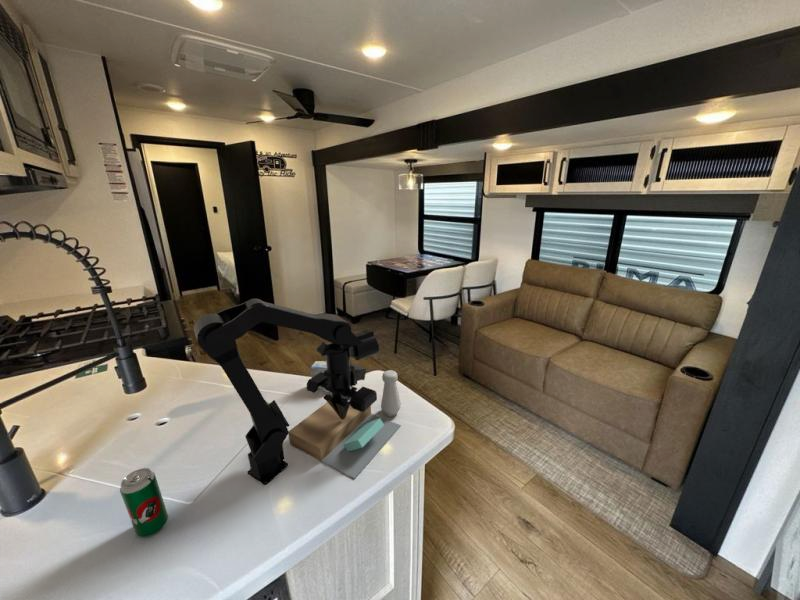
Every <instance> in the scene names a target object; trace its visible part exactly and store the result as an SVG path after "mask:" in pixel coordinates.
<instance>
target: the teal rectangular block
mask: <svg viewBox="0 0 800 600" xmlns="http://www.w3.org/2000/svg"><path fill="white" fill-rule="evenodd" d="M383 426H384V424H383V422H382V421H381V419H377V420H374V421H371V422H368V423H366V424H365V425H363V426H362V427H361V428H360V429H359V430H358V431H357V432H356V433H355V434H354V435H353V436H352V437H351V438H350V439H349V440H348V441H347V442H346V443H344V444H343V445H344V446H345V448H346V450H347V451H352V450H355V449H359V448H362V447H363V446H364V445H365V444H366V443H367V442H368V441H369V440H370V439H371V438H372V437H373V436H374V435H375V434H376V433H377V432H378V431H379V430H380V429H381V428H382V427H383Z"/></svg>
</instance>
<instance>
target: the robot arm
mask: <svg viewBox="0 0 800 600" xmlns="http://www.w3.org/2000/svg"><path fill="white" fill-rule="evenodd" d="M260 323H263V324H264V323H265V324H267V325H268V324H269V325H273V326H278V327H281V328H288V329H291V330H296V331H301V332H305V333H310V334H313V335H315V336H317V337H319V338H321V339H322V340H325V341H327V342H328V343H326V342H325V341H321V344H320V345H319V346H317V347H316V349H315V351H316V352H317V353H318V354H319V355H320V356H321V357H324V356H325V361H326V364H327V370H326V371H324V373H322V372H320V373H318V374H317V375H315V376H314V377H312V376H311V377H310V378H309V379H307V383H306V390H307V391H308V392H309V393H313V394H316V393H317V392H318V391H319V390H318V387H319V386H321V387H324V388H325V389H324V390H323V392H325V393H324V396H323V400H324V401H326V403H327V402H328V403H329V404H330V406H331V407H332V408H333V409H334V411H335V412H336V413H337V415H338V416H339V417H340V419H345V417H346V415H347V412H348V409H349V406H350V405H351V407H352V408H353V409H356V410H358V411H361V412H363V411H365V410H366V409H368V408H369V407H370V406H372V405H373V404H374V403H376V402H377V400H378V397H377V396H378V395H377V391H376V390H374V389H371V388H368V387H365V386H361V387H360V388H359V389H358V388H357V387H355V386H357V385H358V382H359V381H365V378H366V372H367V368H366V367H365V366H362V365H359V364H355V363H352V362H351V358H352V359H354V360H356V361H360V360H363V359H365V358H368V357H372V356H374V355H377V354H379V351H380V345H379V343H378V340H377V337H376V336H375V334H374V333H375V332H374V331H373V330H372V329H369V328H368V329H365V330H363V331H361V332H357V333H353V332H352V327H351V323H349V322H348V321H346V320H344V318H342V317H340V316H338V315H336V314H333V313H309V312H305V311H302V310H298V309H293V308H289V307H287V306H282V305H278V304H275V303H270V302H267V301H264V300H261V299H259V298H250V299H249V300H247V301H244V302H243V303H240V304H237V305H233V306H230V307H227V308H224V309H222V310H220V311H219V312H216V313H206V314H204V315H202V316H200V317H199V318H198V319H197V320H196V321H195V323H194V325H193V331H194V336H195V338H196V340H197V344H198V346H199V348H200V349H201V350H202V351H203V352H204V353H205V354H206V355H207V356H208V357H209V358H210V359H211V360H212V361H213V362H215V363H216V364H217V365H218V366H219V367H221V368H222V370H223V372H224V373H225V375H226V377H227V378H228V380H229V382H230V383H231V385H232V386H233V388H234V389H235V391H236V393H237V394H238V396H239V398H240V399H241V401H242V402H243V404H244V406H245V407H246V409H247V411H248V412H249V414H250V419H251V420H252V426H251V428H250V429H249V431H248V432H247V433H246V434H245V440H246V442H247V444H248V448H249V450H250V451H249V453H247V457H248V462H249V466H250V469H249V470H248V471H247V475H249V476H250V477H252V478H253V479H255V480H256V481H257V482H259V483H261V484H262V485H263V486H267V485H268V484H269V483H270V482H272V480H274V479H275V478H276V477H277V476H278V475H280V473H282V472H283V471H284V470H285V469H286V468H287V467H289V463H288V462H287V461H285V453H284V447H283V445H284V441H285V440H286V439H287V436H289V434H288V431H289V428H288V427H290V423H289V421H287V419H286V416H285V415H284V414H283V412H282V410H281V408H280V406H279V405H278V404H277V401H276V400H275V399H274V400H272V401H271V402H270V403H269V402H268V401H267V400H266V399H265V398H264V396H263V395H262V392H261V391H260V390H259V388H258V386H257V385H256V382H255V381H254V379H253V378H252V376H251V374H250V372H249V370H248V369H247V367H246V365H245V363H244V361H243V360H242V357H241V356H240V352H239V349H238V345H237V341H236V340H237V339H240V338H242V337H243V336H245V334H247V333H248V332H249V331H251V330H252V329H253V328H254V327H256V325H258V324H259V325H260Z"/></svg>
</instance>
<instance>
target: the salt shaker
mask: <svg viewBox="0 0 800 600" xmlns="http://www.w3.org/2000/svg"><path fill="white" fill-rule="evenodd" d="M381 378H382V381H383V383H384V384H383V389H382V398H381V402H380V403H381V404H380V408H381V411H382V412H383V414H384V415H385V416H387V417H390V418H391V417H394V416H395V417H396V416H397V414H398V412H399V411H400V409H401V405H402V402H401V399H400V394H399V389H398V386H397V381H398V373H397V372H396V371H395V370H391V369H389V370H385V371H384V372H382V377H381Z"/></svg>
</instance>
